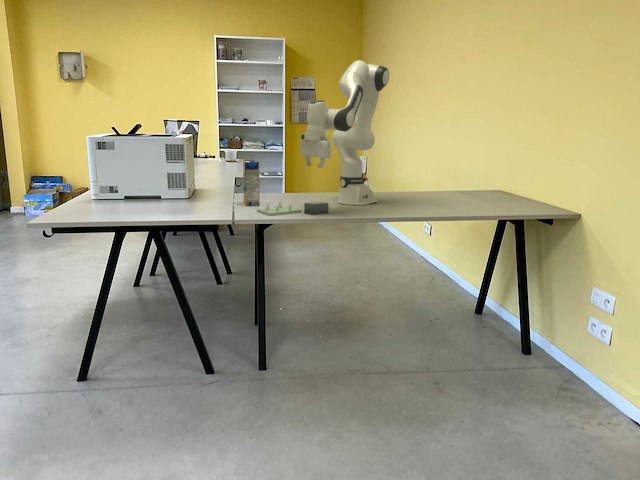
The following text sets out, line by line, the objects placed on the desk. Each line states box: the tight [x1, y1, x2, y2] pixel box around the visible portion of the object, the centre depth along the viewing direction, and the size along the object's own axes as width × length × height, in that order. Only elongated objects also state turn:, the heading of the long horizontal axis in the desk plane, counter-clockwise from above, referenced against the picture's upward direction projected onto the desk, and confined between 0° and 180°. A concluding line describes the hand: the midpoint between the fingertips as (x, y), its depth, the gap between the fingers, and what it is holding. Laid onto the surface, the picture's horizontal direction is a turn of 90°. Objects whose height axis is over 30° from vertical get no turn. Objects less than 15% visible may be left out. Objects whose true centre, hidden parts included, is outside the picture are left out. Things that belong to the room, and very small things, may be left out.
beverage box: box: [242, 159, 260, 207], centre depth 245 cm, size 7×11×22 cm, turn 14°
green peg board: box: [256, 198, 302, 217], centre depth 228 cm, size 17×12×5 cm
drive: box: [303, 201, 329, 216], centre depth 228 cm, size 10×6×5 cm, turn 126°
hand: (314, 166), depth 224 cm, fingers open, 8 cm apart
